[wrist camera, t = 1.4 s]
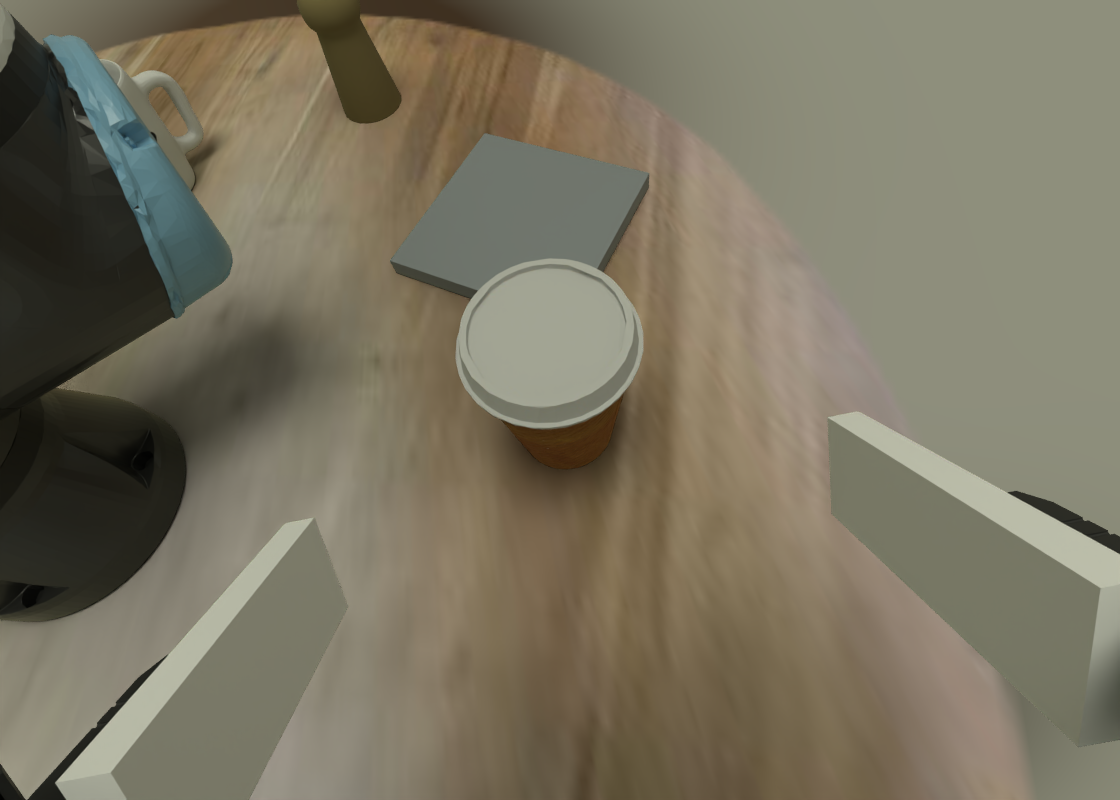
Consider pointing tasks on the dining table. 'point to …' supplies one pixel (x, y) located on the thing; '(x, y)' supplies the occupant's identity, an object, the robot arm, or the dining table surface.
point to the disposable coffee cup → (551, 356)
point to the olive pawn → (352, 59)
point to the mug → (138, 98)
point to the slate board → (519, 215)
